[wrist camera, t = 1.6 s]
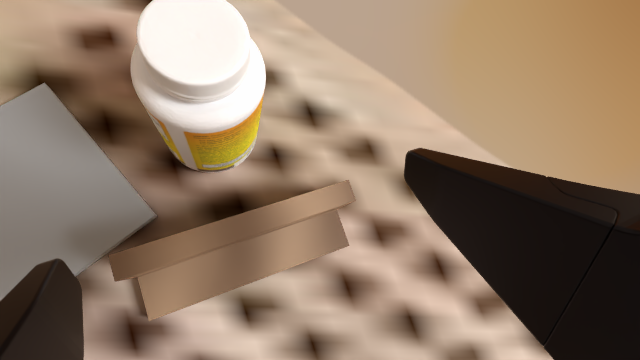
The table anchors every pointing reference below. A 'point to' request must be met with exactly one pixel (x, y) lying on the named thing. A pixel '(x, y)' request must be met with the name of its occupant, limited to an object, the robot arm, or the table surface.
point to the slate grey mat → (58, 191)
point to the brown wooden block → (234, 250)
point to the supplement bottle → (199, 80)
